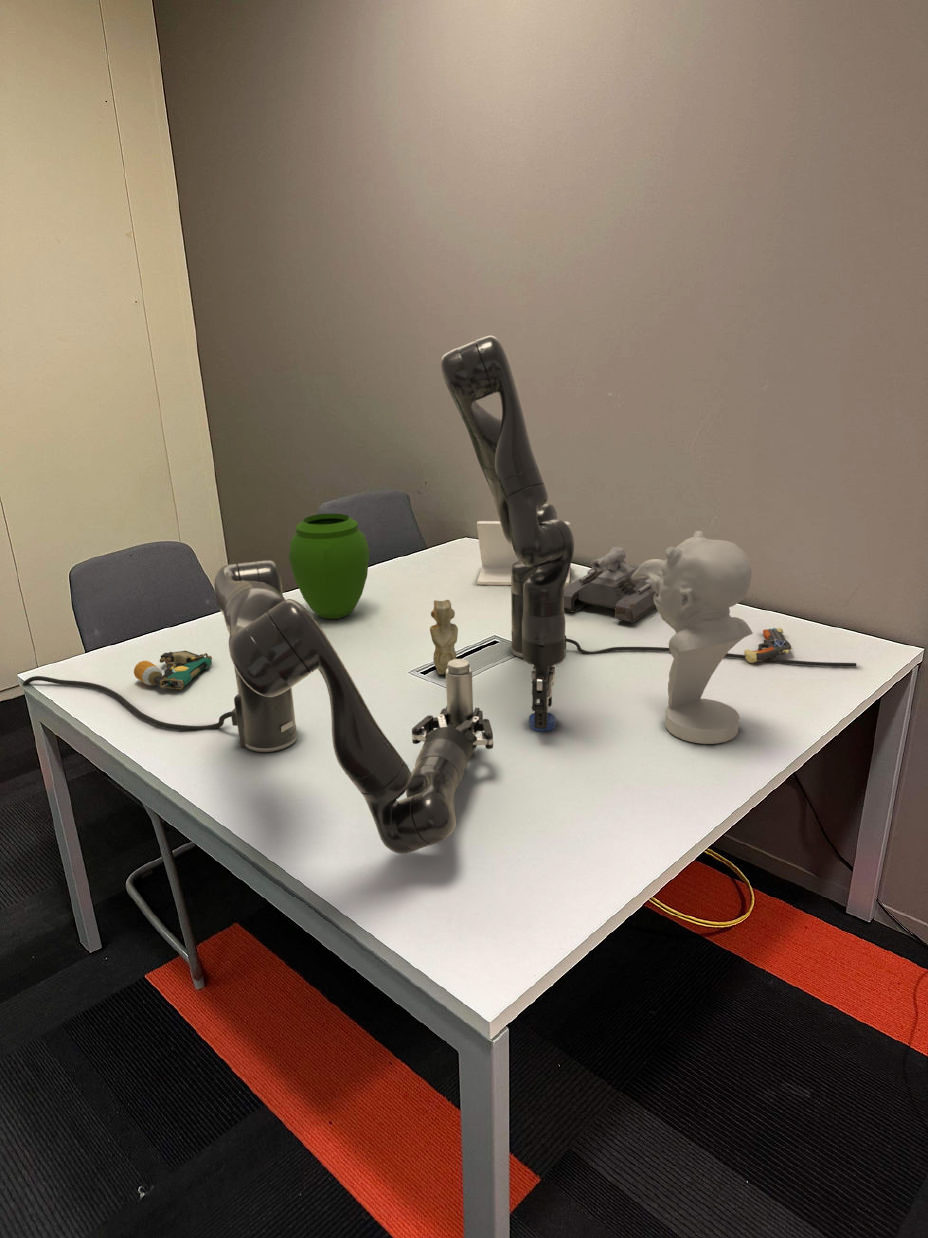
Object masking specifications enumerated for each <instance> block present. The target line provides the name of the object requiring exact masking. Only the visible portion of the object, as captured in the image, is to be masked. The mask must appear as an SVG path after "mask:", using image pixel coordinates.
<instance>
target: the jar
mask: <svg viewBox="0 0 928 1238" xmlns="http://www.w3.org/2000/svg"><path fill="white" fill-rule="evenodd" d="M447 666H448V667H447V669H446V671H445V688H446V689H445V690H446V691H445V692H446V706H447V716H448V725H453V726H460V725H461V724H462V723H464V722H465V721H466V720H470V719H471V718H472V715H473V712H474V696H473V694H474V693H473V669H472V668H471V665H470V662H469V660H467V659H463V658H456V659H454V660H451V661H449V662H448V665H447ZM474 755H475V749H474V750H472V752H471V755H470V758H472V757H473V756H474Z"/></svg>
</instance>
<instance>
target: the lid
mask: <svg viewBox="0 0 928 1238" xmlns="http://www.w3.org/2000/svg"><path fill="white" fill-rule="evenodd" d="M556 719H557V718H556V715H555V714H553V713H551V712H549V711H547V728H546V729H538V728H535V712H533V713H531V714H529V716H528V727H529V729H531V730H532V731H535V732H541V733H542V732H543V733H544V732H550V731H553V730H554V729H556V723H557V720H556Z"/></svg>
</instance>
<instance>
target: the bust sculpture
mask: <svg viewBox="0 0 928 1238" xmlns="http://www.w3.org/2000/svg"><path fill="white" fill-rule="evenodd" d="M664 554H665V559H660V558H653V559H648V560H645V561H644V562H642V563H641V564H640V565H639V566H638V567H639V568H638V569H637V570H636V571H635V573H634V574H633V575H632V576H631V578H632V579H634V580H635V579H640V578H644V577H647V578H649V579H650V583H651V587H652V589H653V590H654V591H655V592H656V593H655V594H654V597H653V600H654V604H655V605H656V607H655V608H656V611H657V612H658V614H659V615H660V618H661V619H662V620H663V622H665V623H666V624H667V625H668V626H669V627H670V628H671V629H672V630H673V631H675V634H673V635H672V636H671V638H669V641H668V648H669V649H670V651H669V653H670V654H671V657H672V658H673V660H672V663H671V666H670V669H669V673H668V682H667V694H668V696H667V697H668V700H667V705H668V706H666V708H665V718H664V726H665V728H666V730H667V731H668V732H669V733H670V734H671V735H673V736H675V737H676V738H679V739H680V740H683V741H687V742H691V743H696V744H703V745H713V744H721V743H726V742H729V741H731V740H733V739H734V738H736V736H738V733H739V729H740V728H739V727H740V715H739V714H740V713H738V711H737V710H736V709H735V708H734V707H732V706H730V705H728V704H727V703H724V702H721V701H719V700H714V699H709V698H702V696H703V695H704V694H703V693H704V692H705V690H706V687H707V685H708V684H709V681H710V680H711V678H712V676H713V674H714V673H715V671H716V670H717V668H718V667H719V665H720V664H721V662H722V661H723V660H724V658H725V655H726V654H727V653H729V652H730V651H731V650H732V649H733V648H734V647H735V646H736V645H738V643H739V642H741V641H742V640H743V639H745V638H747V637H749V636H751V635H753V634H754V632H753V630H752V629H751V628H750V626H749V624H748V623H747V622H746V621H745V620H744V619H743V618H740V617H737V616H731V614H730V613H731V610H730V608H732V607H734V606H736V605H737V604H739V603H740V602H741V601H742V600H744V599H745V597H746V595H747V594H748V592H749V590H750V586H751V583H752V574H753V573H752V572H753V571H752V565H751V561H750V559H749V557H748V555H747V554H746V552H745V551H744V550H743V549H742V548H741V547H740V546H739V545H737V544H736V543H734V542H731V541H728V540H723V539H711V538H707V536H706V534H705V532H703V530H696V531H694V533H693V536H691V537H689V538H687V539H684V541H682V542H681V543H679V544H678V545H677V546H675V547H674V546H669V547H667V548H666V551H665V553H664Z"/></svg>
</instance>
